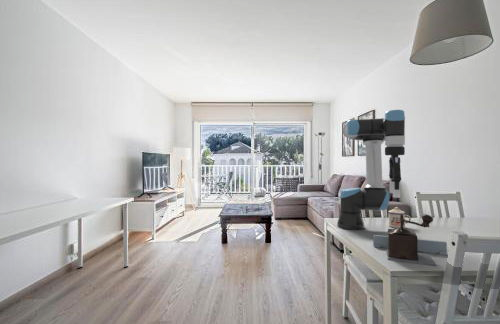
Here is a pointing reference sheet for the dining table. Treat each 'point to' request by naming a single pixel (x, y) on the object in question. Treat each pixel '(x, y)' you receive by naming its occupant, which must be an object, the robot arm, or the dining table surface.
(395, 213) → the teacup with lid
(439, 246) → the low wall
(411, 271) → the dining table surface
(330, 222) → the dining table surface
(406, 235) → the coffee grinder
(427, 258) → the slate mat
